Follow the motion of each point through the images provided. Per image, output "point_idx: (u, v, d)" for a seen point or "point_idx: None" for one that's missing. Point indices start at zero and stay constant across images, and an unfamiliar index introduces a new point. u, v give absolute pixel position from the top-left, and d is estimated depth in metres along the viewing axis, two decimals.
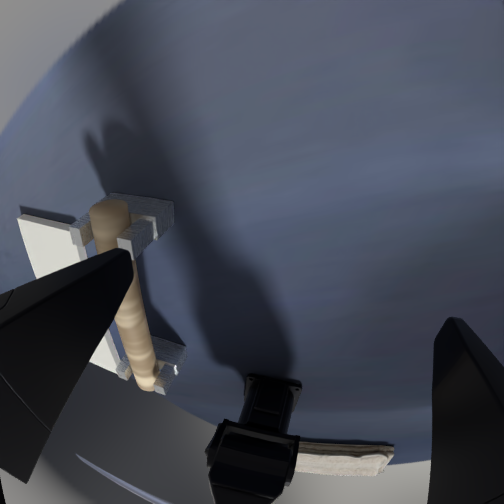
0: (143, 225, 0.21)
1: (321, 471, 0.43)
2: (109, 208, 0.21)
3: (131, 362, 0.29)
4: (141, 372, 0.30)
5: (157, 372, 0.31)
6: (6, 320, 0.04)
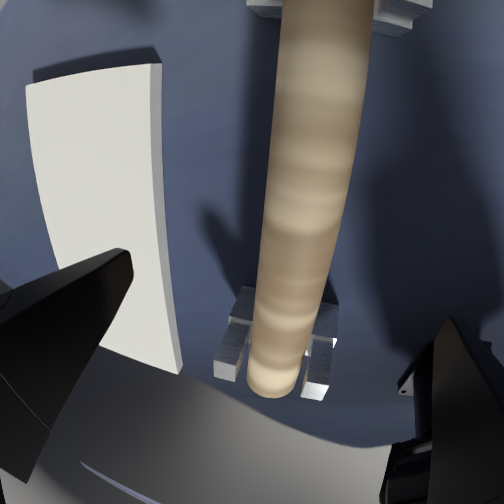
0: None
1: None
2: None
3: (269, 338, 0.14)
4: (286, 358, 0.15)
5: None
6: (6, 320, 0.04)
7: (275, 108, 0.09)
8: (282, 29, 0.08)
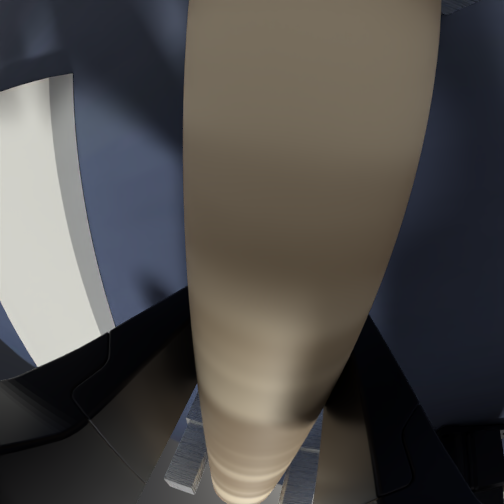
0: None
1: None
2: None
3: (227, 481, 0.08)
4: (253, 493, 0.09)
5: None
6: (122, 382, 0.04)
7: None
8: None
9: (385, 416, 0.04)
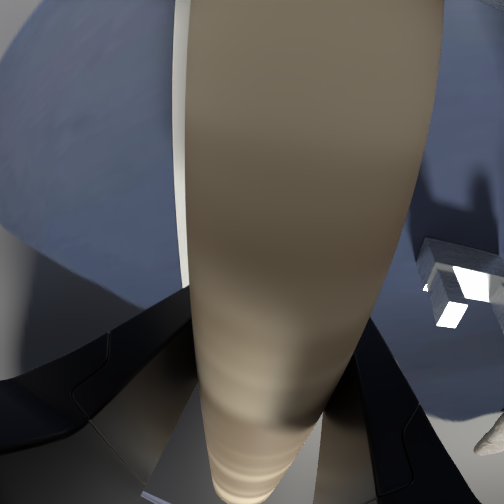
0: None
1: None
2: None
3: (228, 481, 0.08)
4: (254, 493, 0.09)
5: None
6: (122, 382, 0.04)
7: None
8: None
9: (384, 416, 0.04)
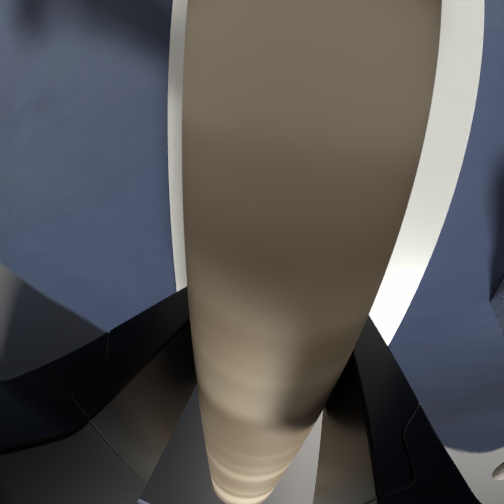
0: None
1: None
2: None
3: (227, 481, 0.08)
4: (253, 493, 0.09)
5: None
6: (122, 382, 0.04)
7: None
8: None
9: (385, 416, 0.04)
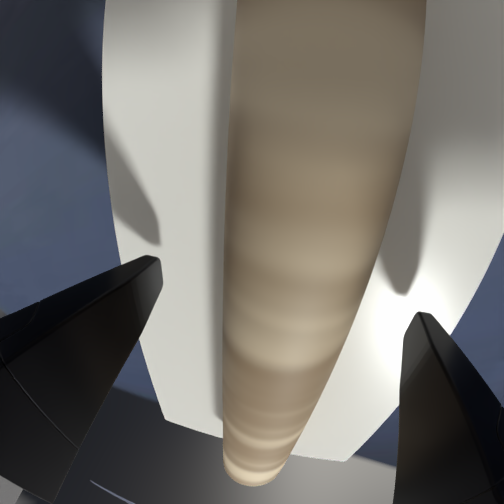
0: None
1: None
2: None
3: (247, 453, 0.09)
4: (270, 464, 0.10)
5: None
6: (35, 338, 0.04)
7: (231, 149, 0.05)
8: None
9: (478, 419, 0.04)
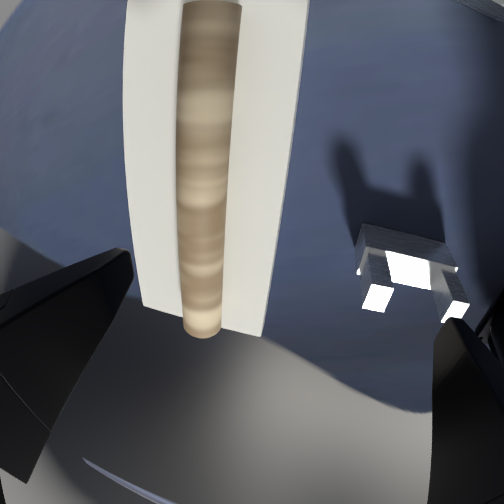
0: None
1: None
2: None
3: (200, 285, 0.20)
4: (214, 297, 0.21)
5: None
6: (6, 320, 0.04)
7: (180, 133, 0.15)
8: (183, 81, 0.13)
9: None
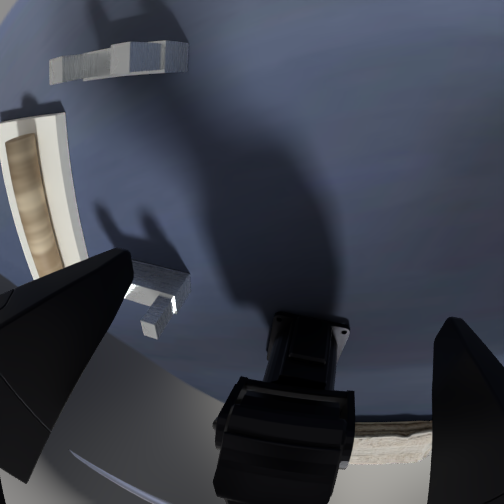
0: (149, 43, 0.13)
1: (356, 460, 0.35)
2: (21, 137, 0.20)
3: None
4: None
5: None
6: (6, 320, 0.05)
7: (22, 217, 0.22)
8: (15, 189, 0.21)
9: None
